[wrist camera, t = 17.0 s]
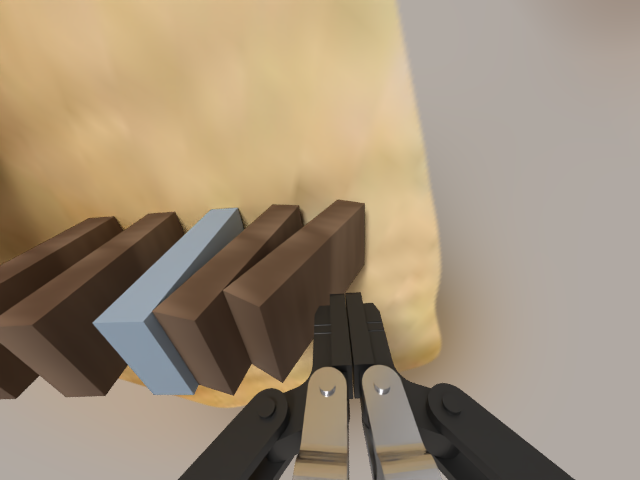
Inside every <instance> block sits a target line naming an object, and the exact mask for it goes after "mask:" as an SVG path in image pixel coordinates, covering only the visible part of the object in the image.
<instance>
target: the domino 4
mask: <svg viewBox="0 0 640 480" xmlns="http://www.w3.org/2000/svg"><path fill="white" fill-rule="evenodd" d="M301 228H302V223H301V216H300V209H299V206H297V205H272V206H271V207H269V208H268V209H267V210H266V211H265V212H264V213H263V214H261V215H260V216H259V217H258V218H257V219H256V220H255V221H254V222H252V223H251V224H250V225H249V226H248V227H247V228H246V229H244V230H243V231H242V232H241V233H240V234H239V235H238V236H237V237H235V238H234V239H233V240H232V241H231V242H230V243H229V244H227V245H226V246H225V247H224V248H223V249H222V250H221V251H220V252H218V253H217V254H216V255H215V256H214V257H213V258H212V259H210V260H209V261H208V262H207V263H206V264H205V265H204V266H203V267H201V268H200V269H199V270H198V271H197V272H196V273H195V274H193V275H192V276H191V277H190V278H189V279H188V280H187V281H186V282H184V283H183V284H182V285H181V286H180V287H179V288H178V289H177V290H175V291H174V292H173V293H172V294H171V295H170V296H169V297H167V298H166V299H165V300H164V301H163V302H162V303H161V304H160V305H158V306H157V307H156V308H155V309H154V310H153V311H152V312H153V314H154V316H155V317H156V319H157V320H158V322H159V323H160V325H161V326H162V328H163V330H164V331H165V333H166V334H167V336H168V337H169V339H170V341H171V342H172V344H173V345H174V347H175V348H176V350H177V352H178V353H179V355H180V356H181V358H182V359H183V361H184V362H185V364H186V366H187V367H188V369H189V370H190V372H191V373H192V375H193V377H194V378H195V380H196V381H197V383H198V384H199V385H202V386H205V387H208V388H211V389H214V390H218V391H221V392H224V393H227V394H230V395H233V396H234V394H235V393H236V391H237V389H238V387H239V385H240V384H241V382H242V380H243V378H244V377H245V375H246V373H247V371H248V369H249V368H250V366H251V364H252V363H251V360H250V358H249V355H248V353H247V350H246V348H245V345H244V343H243V340H242V337H241V335H240V332H239V330H238V327H237V325H236V322H235V320H234V317H233V315H232V312H231V310H230V307H229V305H228V302H227V300H226V297H225V295H224V292H223V290H224V289H225V288H226V287H228V286H229V285H230V284H231V283H233V282H234V281H235V280H237V279H238V278H239V277H240V276H242V275H243V274H244V273H245V272H247V271H248V270H249V269H250V268H252V267H253V266H254V265H256V264H257V263H258V262H259V261H261V260H262V259H263V258H264V257H266V256H267V255H268V254H269V253H271V252H272V251H273V250H275V249H276V248H277V247H278V246H280V245H281V244H282V243H283V242H285V241H286V240H287V239H288V238H290V237H291V236H292V235H294V234H295V233H296V232H297V231H299V230H300V229H301Z"/></svg>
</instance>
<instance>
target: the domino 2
mask: <svg viewBox="0 0 640 480" xmlns="http://www.w3.org/2000/svg"><path fill="white" fill-rule="evenodd" d="M184 235H185V234H184V232H183V230H182V227H181V225H180V223H179V220H178V218H177V216H176V213H175V212H166V213H153V214H147V215H146V216H144V217H143V218H142V219H140V220H139V221H137V222H136V223H134V224H133V225H131V226H130V227H128V228H127V229H125V230H124V231H123V232H121V233H120V234H118V235H117V236H115V237H114V238H112V239H111V240H109V241H108V242H106V243H105V244H104V245H102V246H101V247H99V248H98V249H96V250H95V251H93V252H92V253H90V254H89V255H87V256H86V257H85V258H83V259H82V260H80V261H79V262H77V263H76V264H74V265H73V266H71V267H70V268H68V269H67V270H66V271H64V272H63V273H61V274H60V275H58V276H57V277H55V278H54V279H52V280H51V281H49V282H48V283H47V284H45V285H44V286H42V287H41V288H39V289H38V290H36V291H35V292H33V293H32V294H30V295H29V296H28V297H26V298H25V299H23V300H22V301H20V302H19V303H17V304H16V305H14V306H13V307H11V308H10V309H9V310H7V311H6V312H4V313H3V314H1V315H0V343H1V344H2V345H4V346H5V347H6V348H7V349H8V350H10V351H11V352H12V353H13V354H14V355H16V356H17V357H18V358H19V359H20V360H22V361H23V362H24V363H25V364H26V365H28V366H29V367H30V368H31V369H33V370H34V371H35V372H36V373H37V374H39V375H40V376H41V377H42V378H43V379H45V380H46V381H47V382H48V383H49V384H51V385H52V386H53V387H54V388H56V389H57V390H58V391H59V392H60V393H62V394H63V395H64V396H65V397H85V396H105V395H106V394H107V393H108V391H109V390H110V389H111V387H112V386H113V384H114V383H115V382H116V380H117V379H118V378H119V376H120V375H121V374H122V372H123V371H124V369H125V368H126V367H127V365H128V364H127V363H126V362H125V361H124V359H123V358H122V357H121V356H120V355H119V354H118V352H117V351H116V350H115V349H114V348H113V347H112V345H111V344H110V343H109V342H108V341H107V340H106V338H105V337H104V336H103V335H102V334H101V333H100V331H99V330H98V329H97V328H96V327H95V326H94V324H93V322H94V321H95V320H96V319H97V318H98V317H99V316H100V315H101V314H102V313H103V312H104V311H105V310H106V309H108V308H109V307H110V306H111V305H112V304H113V303H114V302H115V301H116V300H117V299H118V298H119V297H120V296H121V295H122V294H123V293H124V292H125V291H126V290H127V289H128V288H129V287H131V286H132V285H133V284H134V283H135V282H136V281H137V280H138V279H139V278H140V277H141V276H142V275H143V274H144V273H145V272H146V271H147V270H148V269H149V268H150V267H151V266H152V265H154V264H155V263H156V262H157V261H158V260H159V259H160V258H161V257H162V256H163V255H164V254H165V253H166V252H167V251H168V250H169V249H170V248H171V247H172V246H173V245H174V244H175V243H176V242H178V241H179V240H180V239H181V238H182V237H183V236H184Z"/></svg>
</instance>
